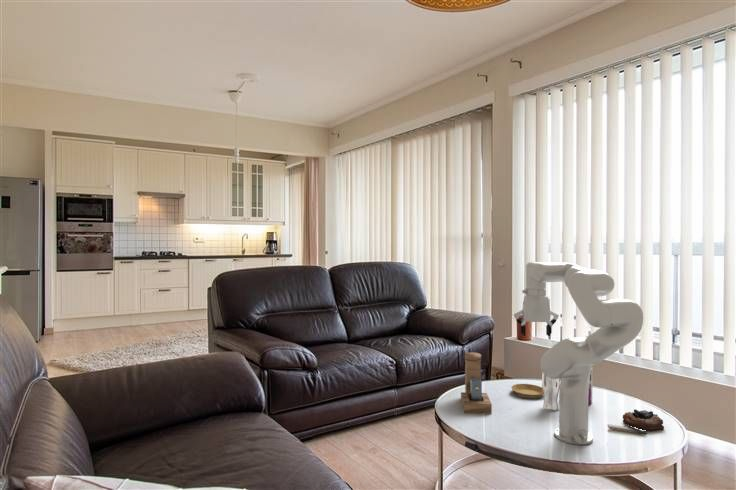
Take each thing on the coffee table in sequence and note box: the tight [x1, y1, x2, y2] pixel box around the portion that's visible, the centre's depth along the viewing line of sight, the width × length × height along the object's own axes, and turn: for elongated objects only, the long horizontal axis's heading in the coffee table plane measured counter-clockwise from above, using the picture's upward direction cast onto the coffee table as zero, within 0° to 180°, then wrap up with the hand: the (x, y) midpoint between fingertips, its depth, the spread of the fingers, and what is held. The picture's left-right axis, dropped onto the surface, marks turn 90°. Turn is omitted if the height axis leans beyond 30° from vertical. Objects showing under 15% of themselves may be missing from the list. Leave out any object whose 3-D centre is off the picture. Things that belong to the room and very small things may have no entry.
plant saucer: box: [511, 383, 544, 399], centre depth 211 cm, size 15×15×3 cm
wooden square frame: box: [460, 351, 493, 415], centre depth 199 cm, size 20×11×20 cm, turn 174°
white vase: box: [541, 371, 561, 412], centre depth 194 cm, size 7×7×15 cm
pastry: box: [622, 409, 665, 432], centre depth 176 cm, size 11×12×6 cm
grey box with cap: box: [470, 377, 483, 401], centre depth 195 cm, size 7×4×12 cm, turn 175°
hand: (535, 335), depth 186 cm, fingers open, 9 cm apart
